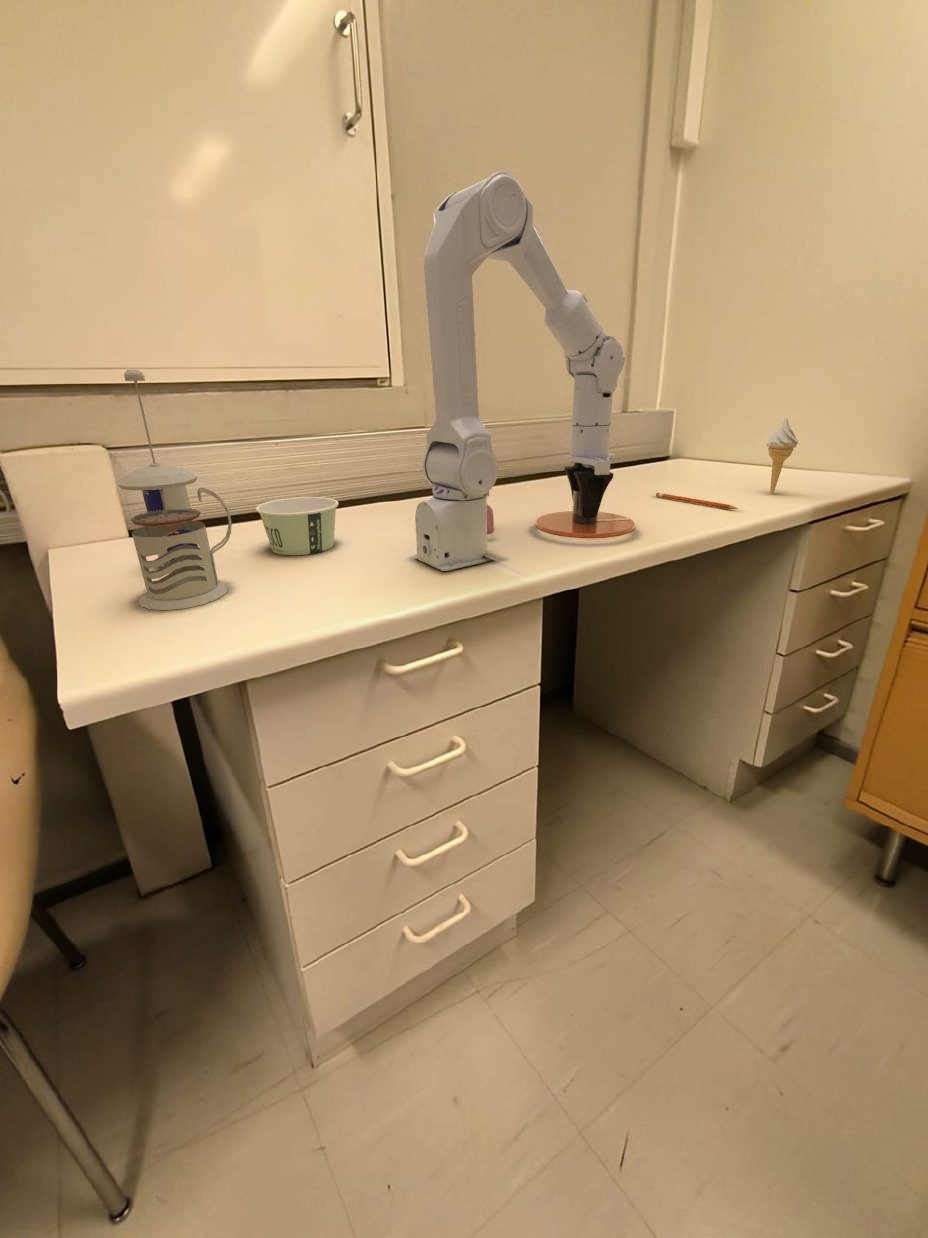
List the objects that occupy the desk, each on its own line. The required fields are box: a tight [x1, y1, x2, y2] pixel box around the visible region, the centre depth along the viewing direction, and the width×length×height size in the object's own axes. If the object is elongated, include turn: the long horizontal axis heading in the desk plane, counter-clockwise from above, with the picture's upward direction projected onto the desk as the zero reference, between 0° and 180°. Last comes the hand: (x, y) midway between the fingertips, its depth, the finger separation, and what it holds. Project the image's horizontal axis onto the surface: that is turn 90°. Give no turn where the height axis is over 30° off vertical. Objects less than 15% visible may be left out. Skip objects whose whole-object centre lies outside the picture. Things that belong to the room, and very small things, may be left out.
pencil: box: [655, 492, 740, 510], centre depth 109 cm, size 1×18×1 cm, turn 35°
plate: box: [535, 488, 636, 539], centre depth 90 cm, size 16×16×6 cm
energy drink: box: [141, 485, 202, 567], centre depth 77 cm, size 5×5×12 cm
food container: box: [255, 496, 339, 556], centre depth 85 cm, size 12×12×6 cm
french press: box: [116, 368, 233, 611], centre depth 64 cm, size 10×12×25 cm
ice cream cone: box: [766, 417, 799, 495], centre depth 114 cm, size 6×6×15 cm
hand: (585, 514), depth 91 cm, fingers closed on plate, 4 cm apart
